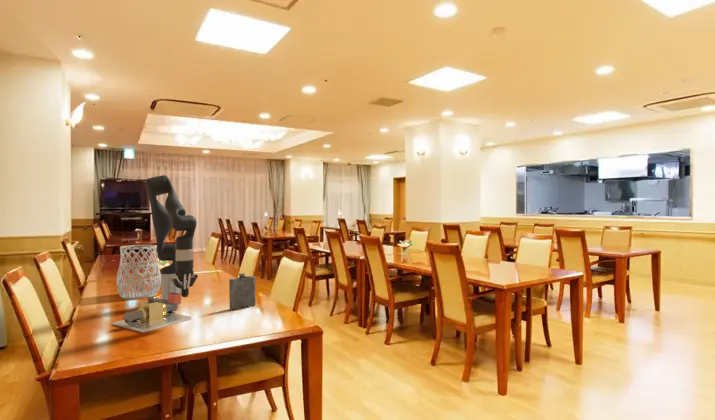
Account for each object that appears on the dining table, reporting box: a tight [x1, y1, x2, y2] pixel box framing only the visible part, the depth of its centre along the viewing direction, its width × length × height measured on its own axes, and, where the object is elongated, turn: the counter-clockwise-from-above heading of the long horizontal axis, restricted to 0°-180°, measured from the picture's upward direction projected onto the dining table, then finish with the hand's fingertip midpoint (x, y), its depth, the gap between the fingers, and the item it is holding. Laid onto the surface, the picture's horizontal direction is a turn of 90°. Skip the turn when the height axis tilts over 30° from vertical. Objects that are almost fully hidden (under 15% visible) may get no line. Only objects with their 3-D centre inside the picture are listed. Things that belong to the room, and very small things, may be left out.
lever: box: [146, 292, 182, 306], centre depth 190 cm, size 21×4×5 cm, turn 59°
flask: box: [228, 272, 257, 310], centre depth 222 cm, size 4×14×18 cm, turn 129°
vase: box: [115, 244, 161, 300], centre depth 254 cm, size 24×24×30 cm
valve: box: [113, 300, 192, 333], centre depth 195 cm, size 24×23×10 cm
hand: (184, 296), depth 191 cm, fingers closed
